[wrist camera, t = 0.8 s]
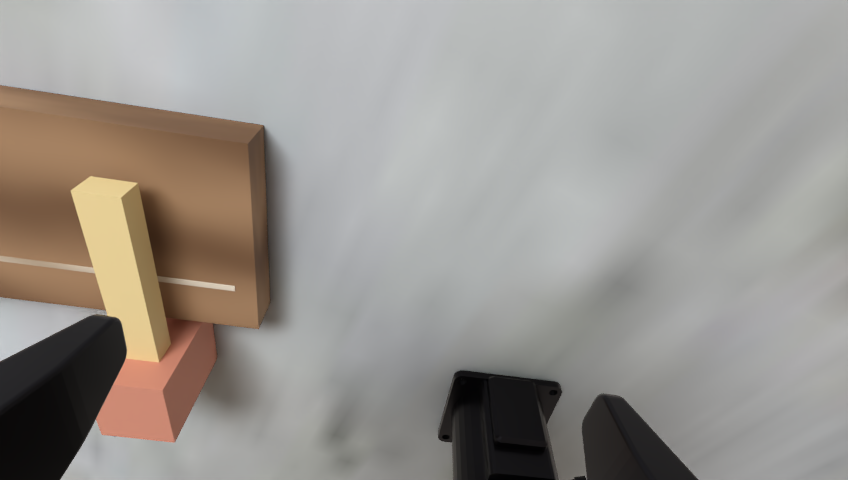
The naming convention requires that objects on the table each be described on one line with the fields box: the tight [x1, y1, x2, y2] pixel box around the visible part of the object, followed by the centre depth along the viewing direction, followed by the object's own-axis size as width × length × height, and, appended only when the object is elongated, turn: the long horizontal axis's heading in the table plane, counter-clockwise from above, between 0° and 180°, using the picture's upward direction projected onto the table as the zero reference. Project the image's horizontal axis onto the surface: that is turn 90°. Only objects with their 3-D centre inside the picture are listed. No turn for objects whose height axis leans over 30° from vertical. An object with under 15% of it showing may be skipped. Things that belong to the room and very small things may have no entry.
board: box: [0, 85, 270, 329], centre depth 21 cm, size 10×20×2 cm, turn 81°
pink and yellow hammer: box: [71, 176, 217, 442], centre depth 22 cm, size 13×4×6 cm, turn 171°
